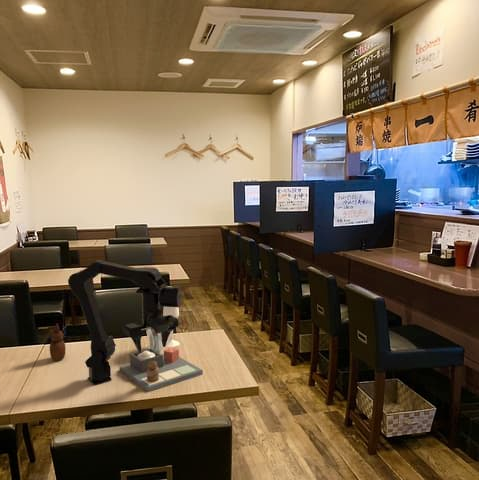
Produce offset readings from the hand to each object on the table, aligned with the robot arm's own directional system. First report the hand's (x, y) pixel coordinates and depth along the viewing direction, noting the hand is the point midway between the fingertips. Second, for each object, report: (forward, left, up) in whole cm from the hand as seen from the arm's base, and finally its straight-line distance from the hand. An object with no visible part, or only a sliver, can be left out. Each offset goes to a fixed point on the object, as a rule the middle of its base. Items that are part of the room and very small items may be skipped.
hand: (152, 349), depth 163 cm
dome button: (+4, +12, -10) cm, 16 cm away
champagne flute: (+25, +29, -13) cm, 40 cm away
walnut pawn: (0, 0, -11) cm, 11 cm away
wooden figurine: (-18, +43, -13) cm, 48 cm away
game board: (+7, +7, -12) cm, 16 cm away
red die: (+14, +11, -11) cm, 21 cm away
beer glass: (+15, +25, -13) cm, 32 cm away
